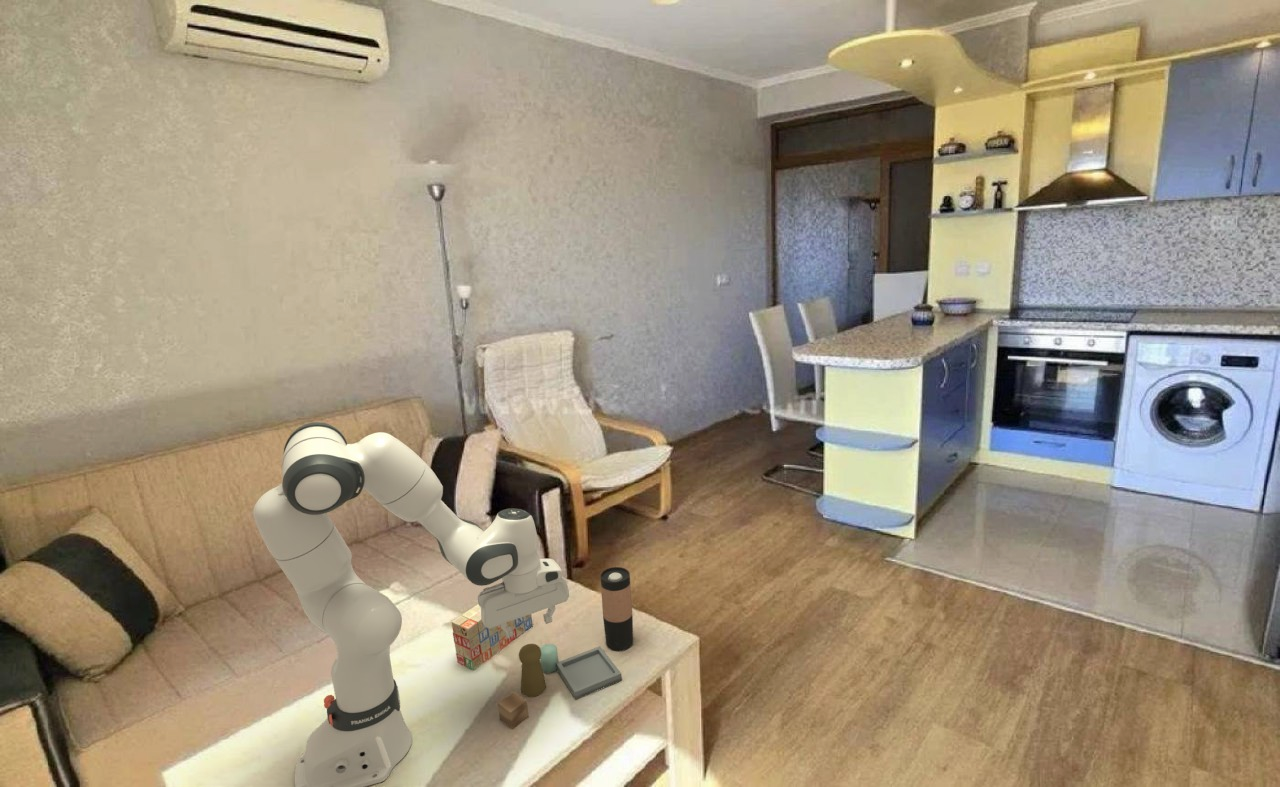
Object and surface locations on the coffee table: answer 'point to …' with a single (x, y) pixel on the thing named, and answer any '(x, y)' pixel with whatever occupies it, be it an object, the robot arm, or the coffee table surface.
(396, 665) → the coffee table surface
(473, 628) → the stack of blocks
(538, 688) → the olive brown pawn
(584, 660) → the tray
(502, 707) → the walnut cube
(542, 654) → the teal cylinder
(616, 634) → the travel mug
